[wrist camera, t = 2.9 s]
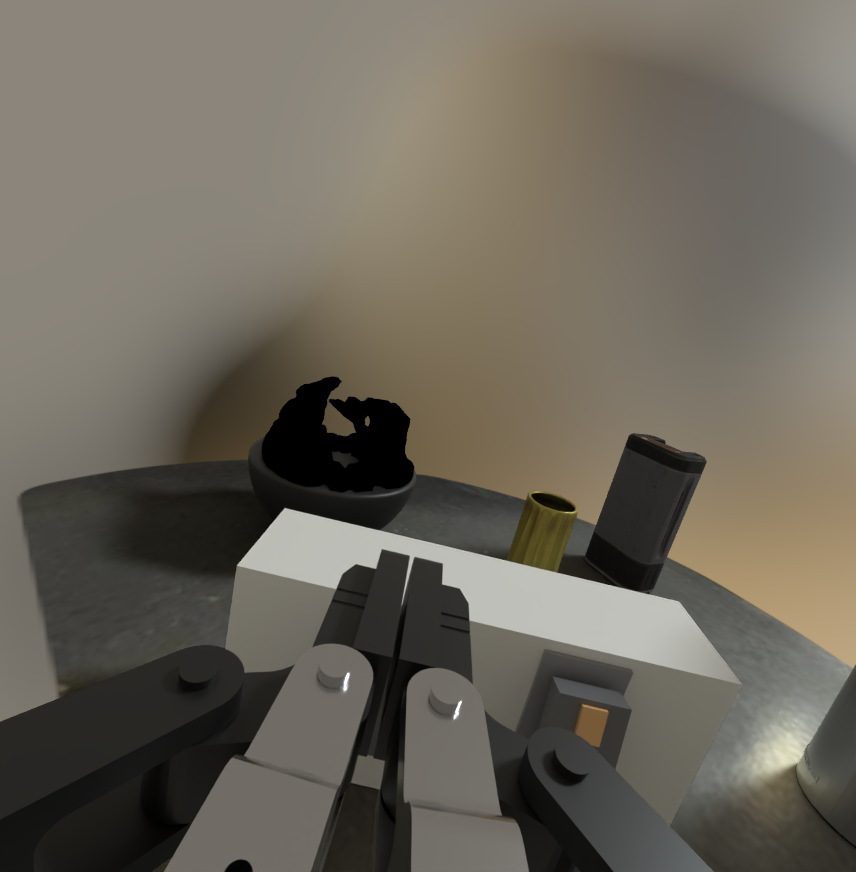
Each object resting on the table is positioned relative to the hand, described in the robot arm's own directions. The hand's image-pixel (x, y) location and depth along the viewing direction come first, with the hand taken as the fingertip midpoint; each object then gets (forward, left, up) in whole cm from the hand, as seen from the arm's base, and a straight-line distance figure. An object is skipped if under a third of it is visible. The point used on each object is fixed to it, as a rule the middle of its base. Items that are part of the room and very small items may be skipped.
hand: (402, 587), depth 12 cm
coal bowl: (+30, -33, -24) cm, 51 cm away
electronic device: (-2, -60, -24) cm, 65 cm away
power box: (+3, -18, -24) cm, 30 cm away
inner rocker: (-5, -15, -18) cm, 24 cm away
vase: (+5, -38, -24) cm, 45 cm away
